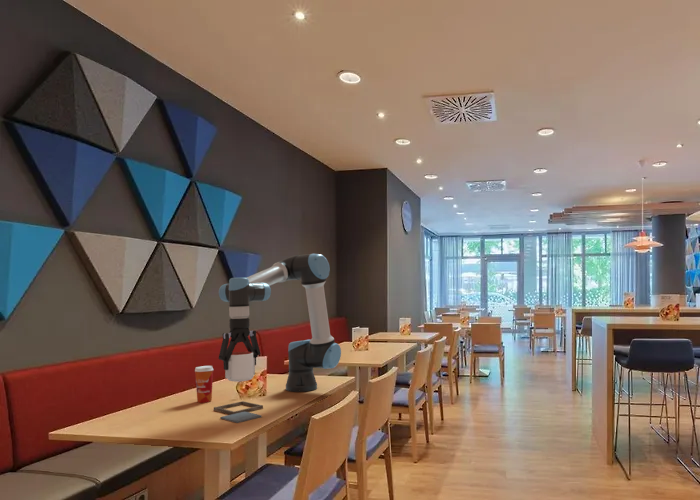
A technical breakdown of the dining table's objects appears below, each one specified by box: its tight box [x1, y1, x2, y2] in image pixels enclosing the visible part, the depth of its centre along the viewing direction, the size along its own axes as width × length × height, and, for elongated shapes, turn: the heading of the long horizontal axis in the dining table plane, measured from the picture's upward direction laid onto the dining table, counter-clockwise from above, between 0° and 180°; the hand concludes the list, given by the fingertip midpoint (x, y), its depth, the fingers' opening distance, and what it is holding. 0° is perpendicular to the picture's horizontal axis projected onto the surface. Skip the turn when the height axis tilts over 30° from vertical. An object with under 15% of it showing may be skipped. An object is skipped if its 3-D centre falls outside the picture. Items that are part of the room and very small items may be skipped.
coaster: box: [220, 412, 263, 424], centre depth 199 cm, size 11×11×1 cm
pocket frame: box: [213, 401, 264, 415], centre depth 214 cm, size 14×14×1 cm
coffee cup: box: [194, 365, 214, 404], centre depth 232 cm, size 8×8×15 cm
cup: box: [227, 351, 255, 383], centre depth 201 cm, size 10×10×10 cm
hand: (240, 376), depth 200 cm, fingers closed on cup, 10 cm apart
